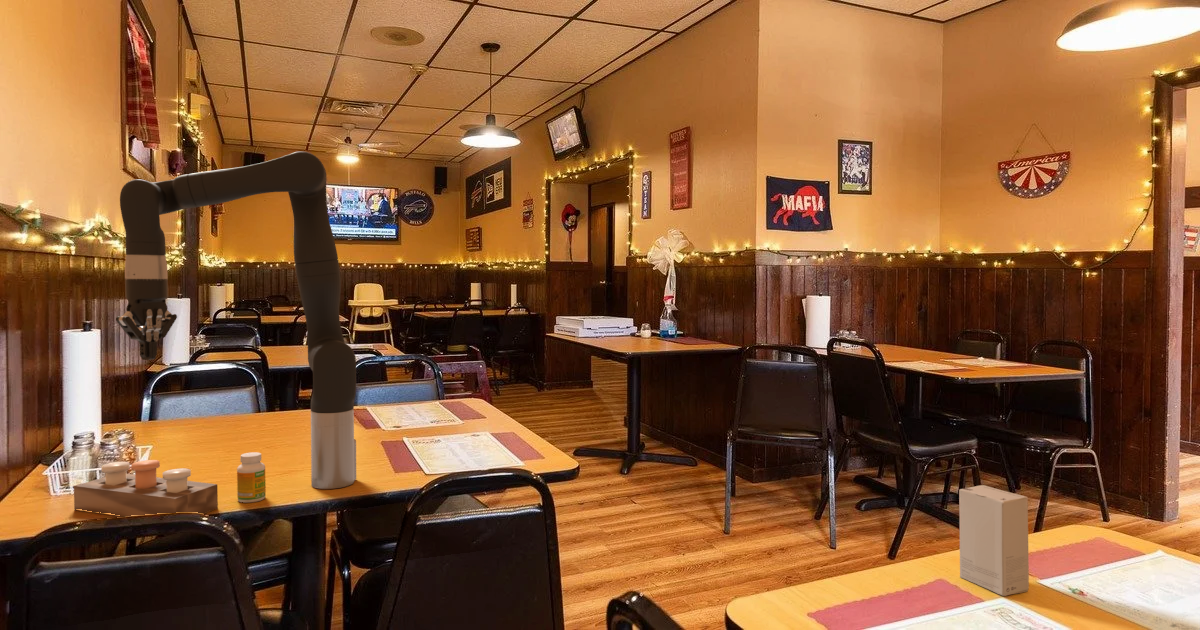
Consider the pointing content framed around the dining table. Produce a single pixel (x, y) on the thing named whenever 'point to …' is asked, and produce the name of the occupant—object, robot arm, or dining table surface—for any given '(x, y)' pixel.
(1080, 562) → the dining table surface
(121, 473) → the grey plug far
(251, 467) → the supplement bottle
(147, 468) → the terracotta plug
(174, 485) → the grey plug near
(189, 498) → the walnut socket board
